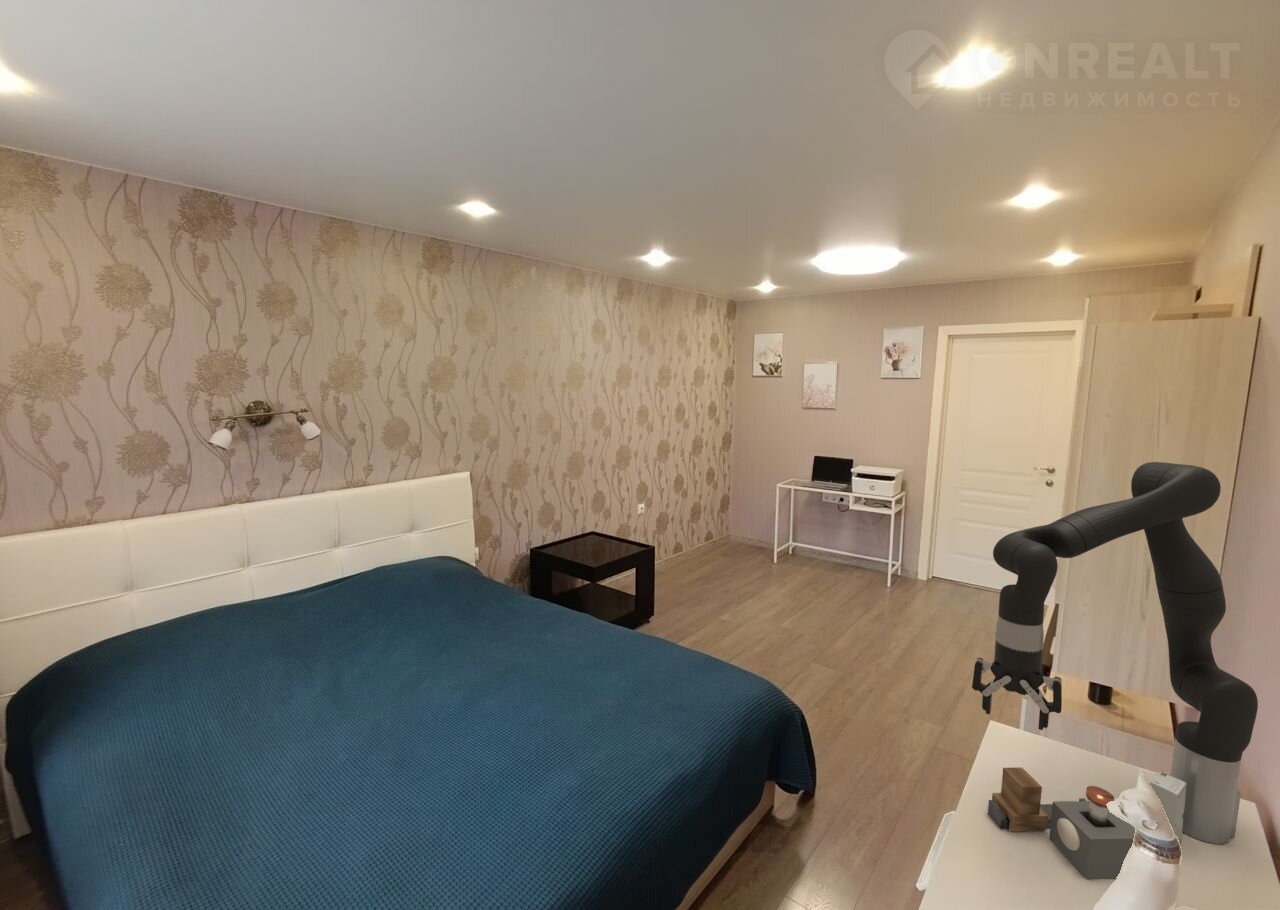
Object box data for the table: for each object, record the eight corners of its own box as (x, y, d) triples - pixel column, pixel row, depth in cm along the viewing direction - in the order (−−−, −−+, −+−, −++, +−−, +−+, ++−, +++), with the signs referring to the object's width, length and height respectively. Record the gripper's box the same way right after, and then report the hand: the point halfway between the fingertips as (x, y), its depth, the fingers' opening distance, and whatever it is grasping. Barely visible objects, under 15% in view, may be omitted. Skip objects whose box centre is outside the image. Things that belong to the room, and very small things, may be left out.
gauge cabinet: (1099, 837, 109) (1103, 800, 108) (1140, 878, 100) (1145, 838, 99) (1046, 838, 109) (1050, 801, 108) (1084, 879, 100) (1088, 839, 99)
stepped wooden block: (1024, 807, 117) (1028, 766, 115) (1046, 831, 110) (1051, 788, 109) (991, 807, 117) (994, 766, 115) (1011, 832, 110) (1015, 788, 109)
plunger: (1097, 820, 106) (1101, 785, 105) (1116, 837, 102) (1120, 801, 101) (1077, 820, 106) (1080, 786, 105) (1094, 837, 102) (1098, 801, 101)
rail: (1082, 812, 116) (1084, 798, 115) (1098, 827, 112) (1100, 813, 111) (987, 813, 115) (988, 799, 115) (1000, 829, 111) (1001, 814, 111)
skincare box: (1172, 854, 105) (1180, 796, 104) (1141, 838, 109) (1148, 782, 107) (1182, 839, 109) (1189, 783, 107) (1152, 824, 112) (1158, 769, 111)
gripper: (1066, 643, 104) (1060, 723, 106) (978, 624, 113) (974, 699, 115) (1065, 659, 99) (1058, 744, 101) (972, 638, 108) (968, 716, 110)
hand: (1013, 719), depth 108 cm, fingers open, 8 cm apart
